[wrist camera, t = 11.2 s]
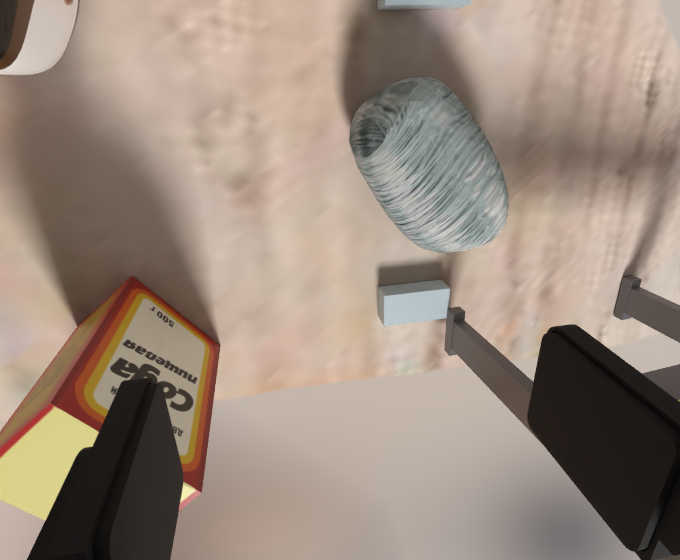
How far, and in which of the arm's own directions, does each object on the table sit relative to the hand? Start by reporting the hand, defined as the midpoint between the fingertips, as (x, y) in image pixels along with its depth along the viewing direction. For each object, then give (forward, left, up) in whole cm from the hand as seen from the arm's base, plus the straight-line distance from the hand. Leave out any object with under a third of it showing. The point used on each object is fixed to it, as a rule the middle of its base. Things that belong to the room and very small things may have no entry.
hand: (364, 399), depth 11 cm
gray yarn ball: (-1, +10, -26) cm, 28 cm away
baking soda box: (+12, -13, -26) cm, 32 cm away
